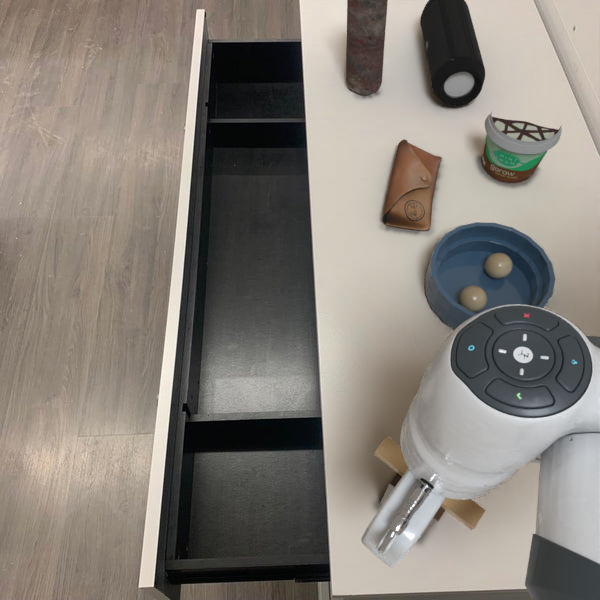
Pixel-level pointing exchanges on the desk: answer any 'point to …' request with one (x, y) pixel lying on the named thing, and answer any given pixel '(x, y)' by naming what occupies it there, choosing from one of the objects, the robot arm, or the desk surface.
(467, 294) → the ball
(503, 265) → the ball
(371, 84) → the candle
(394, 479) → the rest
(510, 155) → the food container
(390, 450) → the tan wooden bar
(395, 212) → the sunglasses case
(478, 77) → the portable speaker
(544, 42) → the desk surface
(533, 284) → the bowl
